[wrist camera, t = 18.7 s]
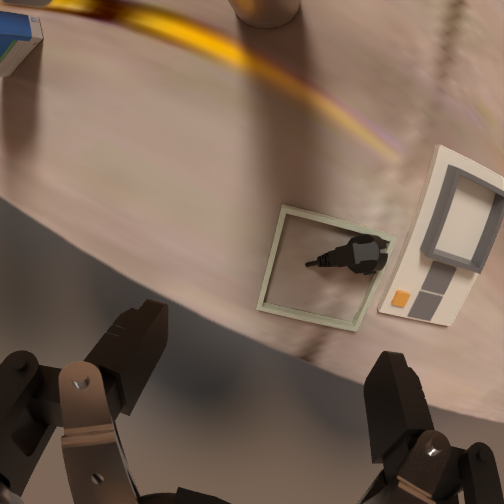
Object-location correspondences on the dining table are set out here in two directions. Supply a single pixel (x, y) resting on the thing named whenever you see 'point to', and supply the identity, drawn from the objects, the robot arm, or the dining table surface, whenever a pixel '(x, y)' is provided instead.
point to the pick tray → (310, 316)
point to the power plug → (356, 255)
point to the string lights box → (17, 39)
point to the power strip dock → (446, 240)
